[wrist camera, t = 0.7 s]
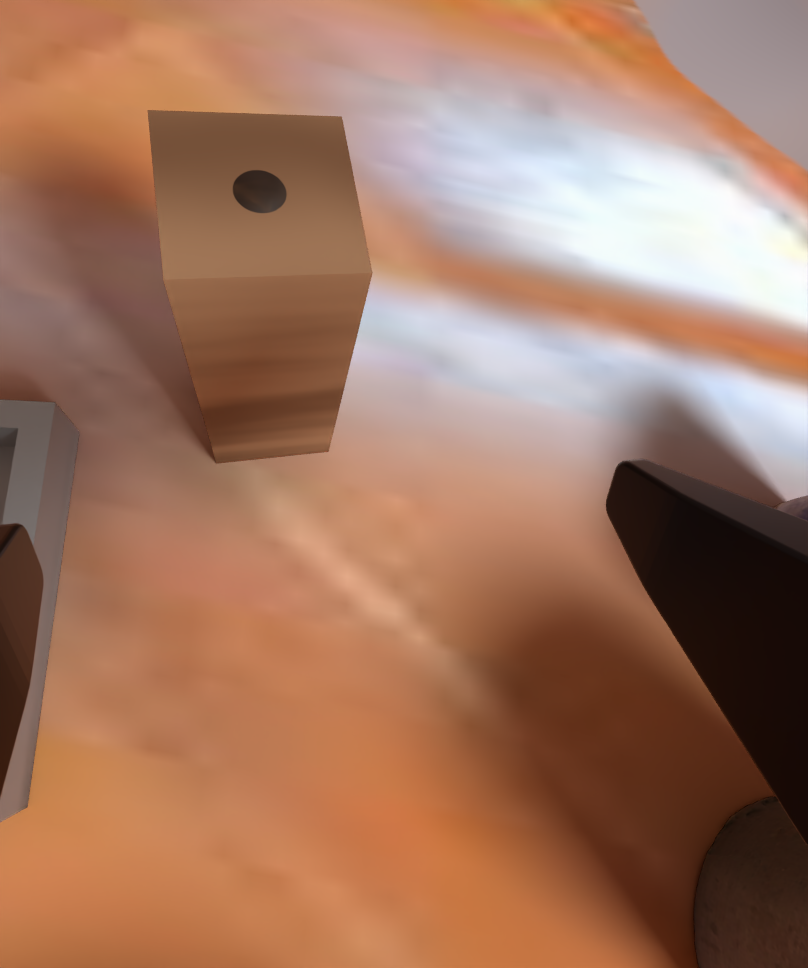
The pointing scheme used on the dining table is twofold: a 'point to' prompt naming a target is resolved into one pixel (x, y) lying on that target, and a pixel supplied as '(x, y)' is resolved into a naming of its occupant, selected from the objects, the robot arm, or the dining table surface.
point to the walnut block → (261, 272)
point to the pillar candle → (754, 893)
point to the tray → (35, 545)
